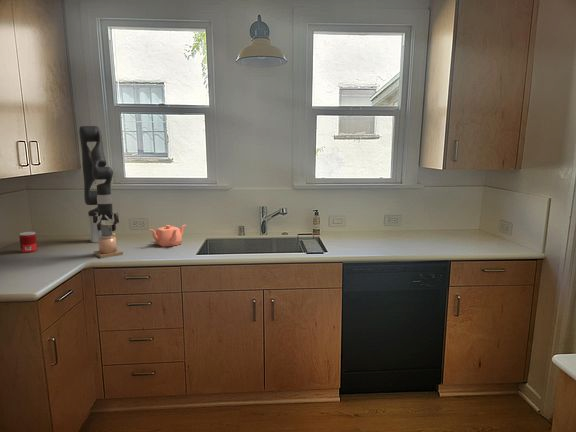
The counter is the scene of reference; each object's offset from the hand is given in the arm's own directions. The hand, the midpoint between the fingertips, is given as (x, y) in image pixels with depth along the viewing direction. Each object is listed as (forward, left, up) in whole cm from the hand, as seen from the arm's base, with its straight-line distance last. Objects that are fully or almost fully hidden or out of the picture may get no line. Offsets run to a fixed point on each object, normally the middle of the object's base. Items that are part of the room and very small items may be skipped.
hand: (106, 230), depth 214 cm
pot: (+2, +37, -14) cm, 39 cm away
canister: (0, 0, -14) cm, 14 cm away
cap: (0, 0, -3) cm, 3 cm away
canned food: (-36, -32, -14) cm, 50 cm away
